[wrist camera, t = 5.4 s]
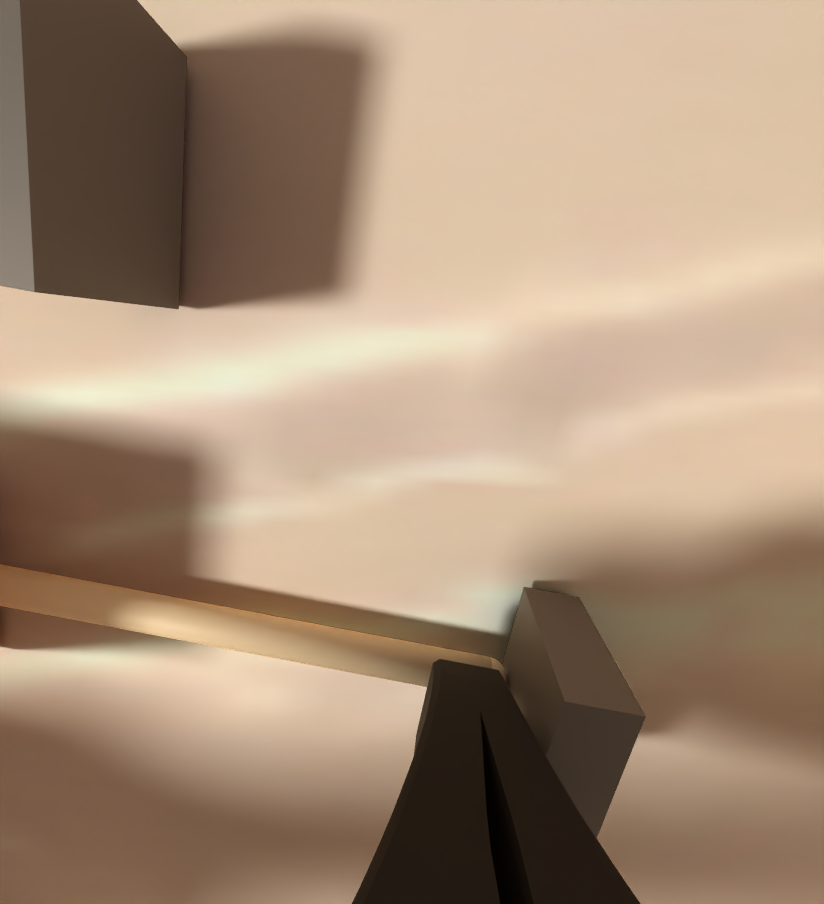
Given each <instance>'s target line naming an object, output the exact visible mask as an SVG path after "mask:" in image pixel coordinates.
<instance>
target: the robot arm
mask: <svg viewBox="0 0 824 904" xmlns="http://www.w3.org/2000/svg"><path fill="white" fill-rule="evenodd" d="M352 904H640V902H639V901H638V900H637V898H636V897H635V895H634V894H633V892H632V891H631V889H630V888H629V887H628V885H627V884H626V882H625V881H624V879H623V878H622V876H621V875H620V873H619V872H618V870H617V869H616V867H615V866H614V864H613V863H612V862H611V860H610V859H609V857H608V855H607V854H606V852H605V851H604V849H603V848H602V846H601V845H600V843H599V842H598V840H597V839H596V837H595V835H594V834H593V832H592V831H591V829H590V828H589V826H588V825H587V823H586V822H585V820H584V818H583V817H582V815H581V814H580V812H579V810H578V809H577V807H576V805H575V804H574V802H573V801H572V799H571V797H570V796H569V794H568V792H567V791H566V789H565V787H564V786H563V784H562V782H561V781H560V779H559V777H558V776H557V774H556V772H555V770H554V769H553V767H552V765H551V764H550V762H549V760H548V759H547V757H546V755H545V754H544V752H543V750H542V748H541V746H540V745H539V743H538V741H537V739H536V738H535V736H534V734H533V732H532V730H531V729H530V727H529V725H528V723H527V721H526V719H525V718H524V716H523V714H522V712H521V710H520V708H519V706H518V705H517V703H516V701H515V699H514V697H513V695H512V693H511V691H510V689H509V687H508V686H507V684H506V682H505V680H504V678H503V676H502V674H501V673H500V671H499V670H496V669H491V668H486V667H480V666H475V665H470V664H465V663H459V662H454V661H449V660H443V659H439V660H437V661H435V662H433V665H432V669H431V673H430V678H429V682H428V686H427V691H426V695H425V699H424V704H423V708H422V713H421V717H420V721H419V726H418V730H417V734H416V743H415V752H414V758H413V760H412V763H411V766H410V769H409V771H408V774H407V777H406V779H405V782H404V784H403V787H402V790H401V792H400V795H399V798H398V800H397V803H396V805H395V808H394V811H393V813H392V816H391V818H390V820H389V823H388V825H387V827H386V830H385V832H384V835H383V837H382V839H381V841H380V844H379V846H378V848H377V851H376V853H375V855H374V857H373V859H372V862H371V864H370V866H369V868H368V871H367V873H366V875H365V877H364V879H363V882H362V884H361V886H360V888H359V890H358V892H357V894H356V896H355V898H354V900H353V902H352Z"/></svg>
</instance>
